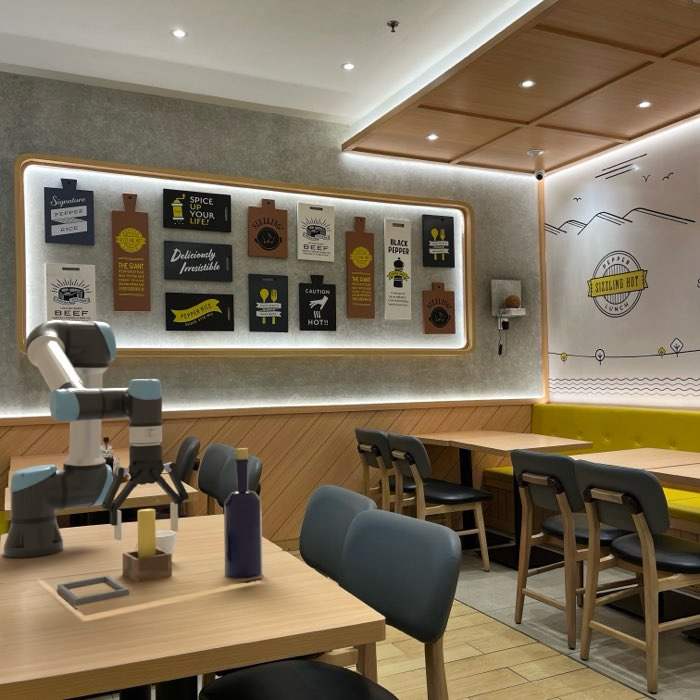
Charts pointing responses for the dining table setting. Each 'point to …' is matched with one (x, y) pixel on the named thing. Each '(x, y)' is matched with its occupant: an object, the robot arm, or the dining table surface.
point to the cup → (165, 540)
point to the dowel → (146, 533)
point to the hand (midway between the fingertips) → (146, 535)
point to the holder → (147, 565)
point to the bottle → (243, 526)
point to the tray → (64, 590)
